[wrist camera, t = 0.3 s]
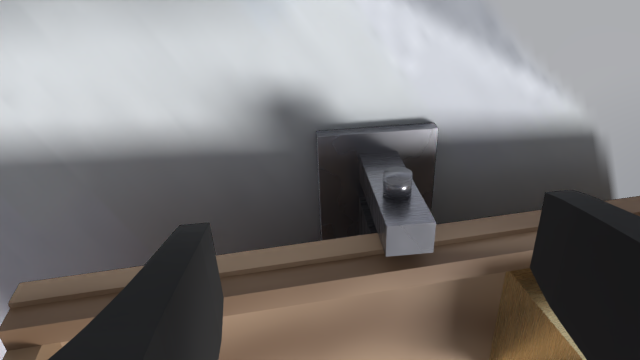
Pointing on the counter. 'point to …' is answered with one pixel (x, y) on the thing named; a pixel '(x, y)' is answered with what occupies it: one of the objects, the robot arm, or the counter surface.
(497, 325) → the block
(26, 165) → the counter surface
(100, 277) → the beam
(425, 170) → the stand
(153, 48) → the counter surface
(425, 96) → the counter surface
